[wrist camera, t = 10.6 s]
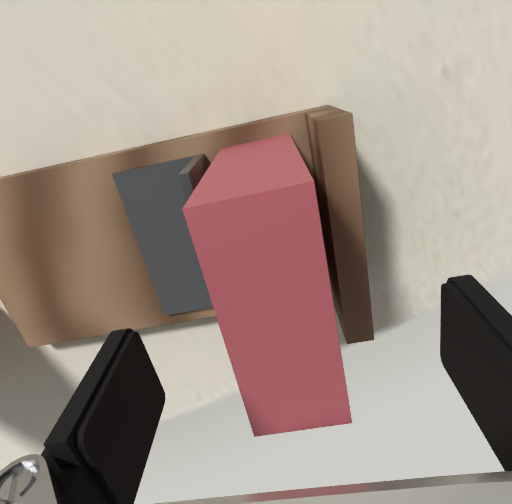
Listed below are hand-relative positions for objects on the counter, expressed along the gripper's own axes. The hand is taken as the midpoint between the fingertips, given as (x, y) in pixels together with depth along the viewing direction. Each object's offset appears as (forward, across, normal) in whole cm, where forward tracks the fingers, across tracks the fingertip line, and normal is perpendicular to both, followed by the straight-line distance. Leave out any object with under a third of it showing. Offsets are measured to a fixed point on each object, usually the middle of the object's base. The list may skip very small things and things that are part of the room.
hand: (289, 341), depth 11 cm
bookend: (+12, +6, +1) cm, 14 cm away
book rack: (+14, +8, +1) cm, 16 cm away
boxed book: (+12, +1, +1) cm, 12 cm away
